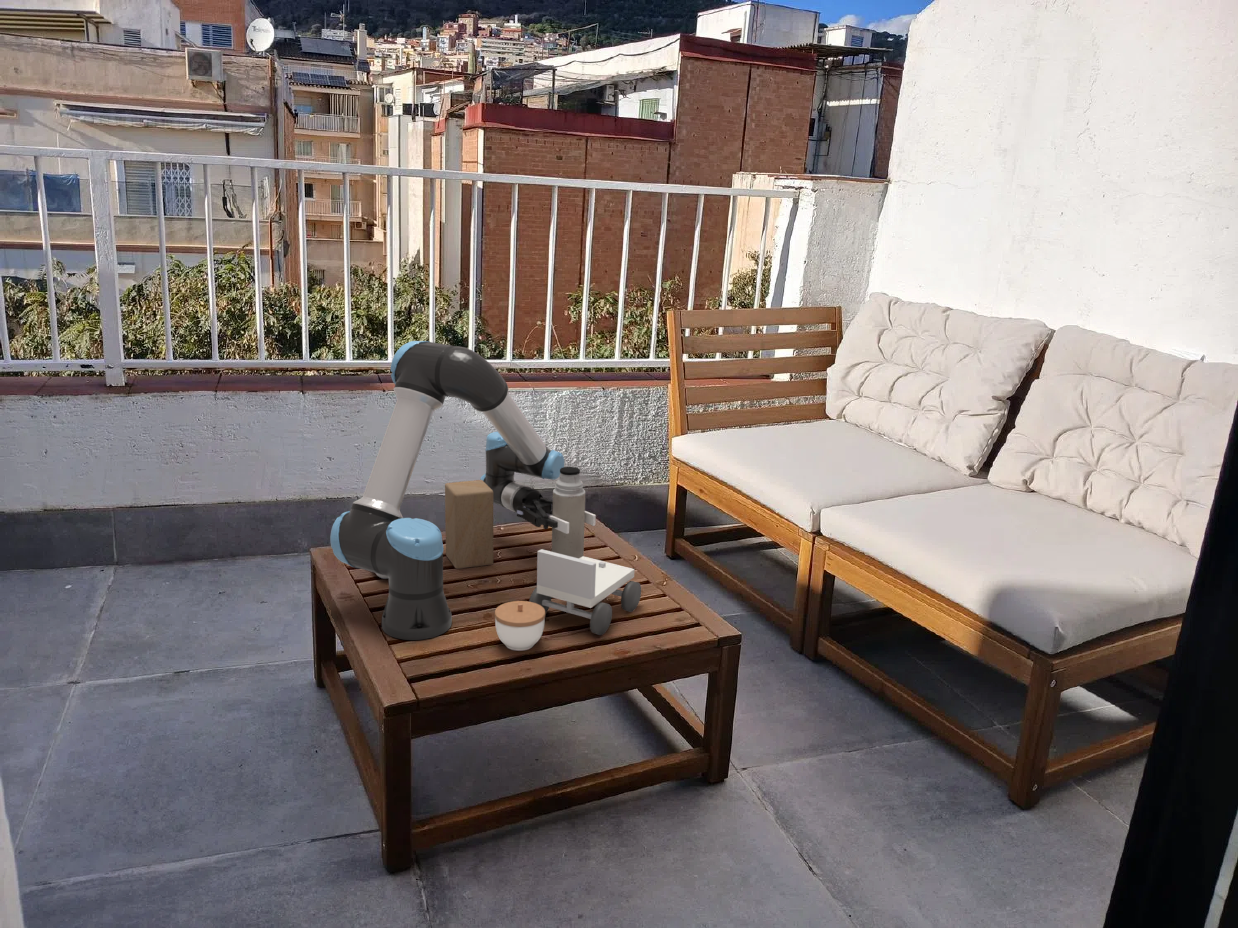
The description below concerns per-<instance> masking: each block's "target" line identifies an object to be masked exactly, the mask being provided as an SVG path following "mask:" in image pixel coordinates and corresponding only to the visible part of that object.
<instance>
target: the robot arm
mask: <svg viewBox="0 0 1238 928" xmlns="http://www.w3.org/2000/svg"><path fill="white" fill-rule="evenodd" d="M390 372H391V374H390V377H391V380H392V382H393V383H394V387H393V391H394V394H395V397H396V403H395V405H394V408H393V411H392V414H391V416H390V419H389V421H388V425H387V427H386V430H385V433H384V436H383V438H382V442H381V443H380V447H379V450H378V453H377V456H376V458H375V461H374V464H373V466H372V469H371V473H370V474H369V478H368V481H367V483H366V486H365V489H364V492H363V494H362V497H360V498H359V499H357V500H355V501H353V502H352V505H351V507H350V510H348V511H345V512H343V513H341V514H340V516H338V517H337V518H336V519H335V520H334V522H333V524H332V527H331V529H330V530H331V531H330V537H329V539H330V547H331V550H332V553H333V555H334V556H335V557H336V558H337V560H338V561H340V562H341V563H343V564H346V565H348V566H350V567H352V568H354V569H361V570H364V571H368V572H370V573H375V574H376V573H377V574H381V575H385V576H388V577H389V579H388V596H387V599H386V603H385V606H384V609H383V613H382V616H381V629H382V630H383V632H384V633H385V634H386V635H388V636H389V637H393V638H395V639H400V640H404V641H405V640H406V641H421V640H427V639H432V638H435V637H439V636H441V635H442V634H445V633H446V632H447V631H449V630H450V628H451V627H452V619H453V618H452V610H451V609H450V607H449V605H448V602H447V598H446V595H445V593H444V544H443V535H442V531H441V530H440V528H439V527H438V526H437V525H436V524H434V523H433V522H431V521H429V520H426V519H422V518H419V517H418V518H417V517H415V518H411V517H404V516H403V515H402V512H401V511H400V510H401V506H402V503H403V500H404V497H405V495H406V492H407V489H408V486H409V483H410V480H411V477H412V474H413V471H414V468H415V465H416V462H417V459H418V457H419V454H420V452H421V449H422V446H423V442H424V439H425V437H426V434H427V431H428V429H429V425H430V423H431V420H432V417H433V413H434V412H435V411H436V410H438V409H441V408H443V405H444V402H445V400H446V397H448V398H455V399H459V400H462V401H465V402H467V403H468V404H469V405H470V406H472V408H473V409H474V410H476V411H477V412H479V413H482V414H483V415H484V416H485V417H486V419H487V420H488V422H490V424H491V425H492V426H493V428H494V429H495V430H496V431H493V432H491V433H489V434H488V435H487V436H486V438H485V439H486V440H485V442H486V443H485V449H484V450H485V473H484V474H482V475H481V477H480V478H479V480H483V481H484V482H485V483H486V484H487V485H488V486H489V487H490V488H491V489H492V490H493V505H494V504H495V505H498V506H501V507H503V508H505V509H507V510H510V511H511V512H513V513H515V514H516V517H518V518H521V519H524V520H525V521H526V522H528V523H530V524H531V525H533V526H535V527H536V528H540V527H542V526H543V527H542V528H543V529H544V530H548V529H549V528H551V529H552V528H554V529H557V530H559V531H561V532H564V533H566V534H568V533H569V522H567V521H564V520H562V519H559V518H557V517H555V516H552V512H553V499H549V498H547V497H544V496H543V494H542V493H541V492H540V491H539V490H538V489H535V488H533V487H531V486H528V485H526V484H523V483H521V482H518V481H516V480H515V473H516V474H517V473H518V474H522V475H526V476H530V477H535V478H539V479H542V480H558V479H560V469H561V468H563V467H565V457H564V455H563V453H562V452H560V451H557V450H555V449H549V448H548V446H547V445H546V443H545V442H544V441H543V439H542V438H541V437H540V435H539V433H537V431H536V430H535V428H534V427H533V425H532V424H531V422H530V421H529V420H528V418H527V417H526V416H525V414H524V413H523V412H522V410H521V409H520V407H519V406H518V405H517V403H516V402H515V400H514V399H513V397H512V396H511V395H510V393H509V386H508V383H507V381H506V380H505V378H503V376H502V375H501V374H500V372H499V371H498V370H497V369H496V368H495V367H494V366H493V365H492V364H491V363H490V362H489V361H488V360H487V359H485V358H484V357H483V356H481V354H479V353H477V352H475V351H474V350H472V349H469V348H468V347H465V346H459V345H458V346H455V345H450V344H445V343H444V344H443V343H438V342H432V341H430V340H429V341H428V340H412V341H408V342H407V343H404V344H403V345H401V346H400V347H399V349H397V351H396V352H395V354H394V355H393V357H392V361H391V364H390ZM596 518H597V515H596V514H594V513H592V512H589V511H587V510H585V522H584V524H588V525H590V526H593V527H594V526H596ZM377 574H376V575H377Z"/></svg>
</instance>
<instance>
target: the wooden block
mask: <svg viewBox="0 0 1238 928" xmlns="http://www.w3.org/2000/svg"><path fill="white" fill-rule="evenodd" d="M444 508H445V509H444V511H445V512H444V518H445V520H444V521H445V522H444V523H445V526H444V528H445V556H446V557H447V559H448V560H449V561H450V563H451V565H453V567H454V569H455V570H460V569H467V568H473V567H474V568H475V567H481V566H487V565H488V566H489V565H493V564H494V503H493V490H492V489H491V488H490V487H489V486H488V485H487V484H486V483H485V482H484V481H483V480H480V479H474V480H466V481H465V480H463V481H456V482H455V481H454V482H446V483H444Z"/></svg>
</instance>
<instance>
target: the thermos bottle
mask: <svg viewBox="0 0 1238 928" xmlns="http://www.w3.org/2000/svg"><path fill="white" fill-rule="evenodd" d="M580 473H581V469H580V468H579V467H576V466H564V467H563V468H561V469H560V477H559V478H558V479H556V481H555V485H554V487H555V488H553V490H552V500H553V512H552V514H551V515H552V516H555V517H557V518H559V519H562V520H564V521H567V522H569V533H568V534H566V533H564V532H561V531H559V530H557V529H554V528H552V527H551V552H555V553H559V554H563V555H567V556H570V557H574V558H578V559H579V558H581V557H583V556H584V550H585V549H584V548H585V547H584V546H585V511H586V490H585V489H584V483H583V481H582V480H581V479H580Z"/></svg>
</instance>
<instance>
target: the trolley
mask: <svg viewBox="0 0 1238 928" xmlns="http://www.w3.org/2000/svg"><path fill="white" fill-rule="evenodd" d="M536 559H537V561H536V563H537V564H536V571H537V572H536V586H535V588H534V589H533V590H532V593H531V594H530V597H529V601H528V602H533V603H536V604H539V605H541V606H542V607H543V608H544V609H545V615H546V614H547V612H548V610H549V609H550V608H551V609H554V610H557V611H561V612H564V613H565V612H566V613H568V614H572V615H576V616H578V617H583V618H586V619H589V629H590V632H591V633H592V634H595V635H598V636H603V635H604V634H605V633H606V632H607V631H608V629H609V628H610V626H611V621H612V617H613V608H612V606H611V605H610V604H609V603H606V602H602V601H603V600H604V599H605V598H607V597H608V596H610V595H614V596H618V597H621V598H620V606H621V609H622V610H623V611H626V612H630V613H632V612H634V611H635V610H636V609H637V607H638V605H639V604H640V600H641V597H642V586H641V583H640V582H638V581H634V580H632V579H634V578H635V568H631V567H627V566H623V565H619V564H616V563H612V562H608V561H604V560H600V559H595V558H592V557H588V556H584V555H583V557H581V558H579V559H578V558H574V557H570V556H567V555H563V554H559V553H555V552H552V550H551V551H550V550H546V549H542V548H541V549H539V550H537V557H536ZM624 585H625V586H624ZM623 586H624V587H623ZM621 587H623V590H620V588H621ZM552 598H554V599H557V600H561V601H564V602H566V605H565V604H563V603H559V602H555V601H552ZM575 605H578V606H583V607H585V608H590V609H591V608H593V607H594V608H593V611H592V612H590V611H586V610H583V609H581V608H580V609H579V608H577V607H575Z"/></svg>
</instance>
